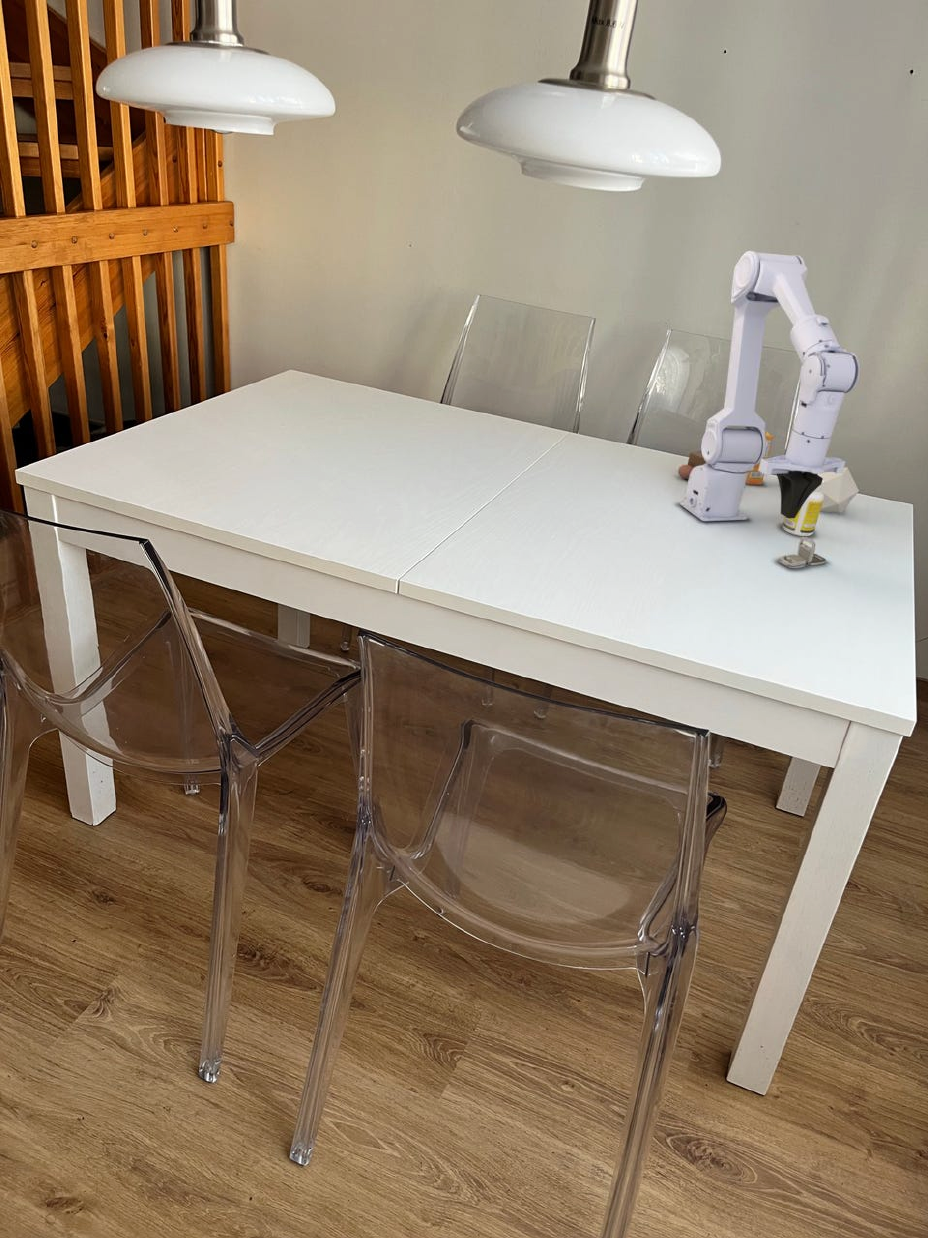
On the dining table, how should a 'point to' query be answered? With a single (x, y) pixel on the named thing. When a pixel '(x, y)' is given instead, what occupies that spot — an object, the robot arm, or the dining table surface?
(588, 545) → the dining table surface
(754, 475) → the supplement box
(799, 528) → the supplement bottle
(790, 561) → the strap clip
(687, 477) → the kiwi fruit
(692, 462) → the walnut block
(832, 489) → the die
